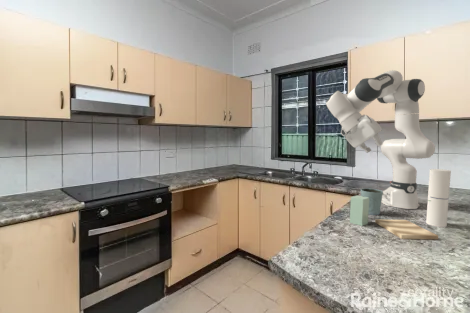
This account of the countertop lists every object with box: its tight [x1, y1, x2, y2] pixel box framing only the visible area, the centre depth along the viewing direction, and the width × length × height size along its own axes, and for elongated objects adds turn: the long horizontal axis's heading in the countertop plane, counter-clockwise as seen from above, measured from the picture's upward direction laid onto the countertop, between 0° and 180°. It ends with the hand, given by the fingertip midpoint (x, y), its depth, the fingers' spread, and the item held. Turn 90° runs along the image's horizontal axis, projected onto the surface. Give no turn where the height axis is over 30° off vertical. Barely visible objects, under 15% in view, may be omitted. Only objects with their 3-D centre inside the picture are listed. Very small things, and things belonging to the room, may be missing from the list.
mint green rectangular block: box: [349, 194, 369, 227], centre depth 109 cm, size 6×6×12 cm
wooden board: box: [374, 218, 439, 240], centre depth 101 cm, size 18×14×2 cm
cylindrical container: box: [425, 168, 452, 228], centre depth 107 cm, size 7×7×25 cm
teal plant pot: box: [360, 187, 384, 216], centre depth 124 cm, size 10×10×12 cm
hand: (374, 148), depth 100 cm, fingers open, 8 cm apart
